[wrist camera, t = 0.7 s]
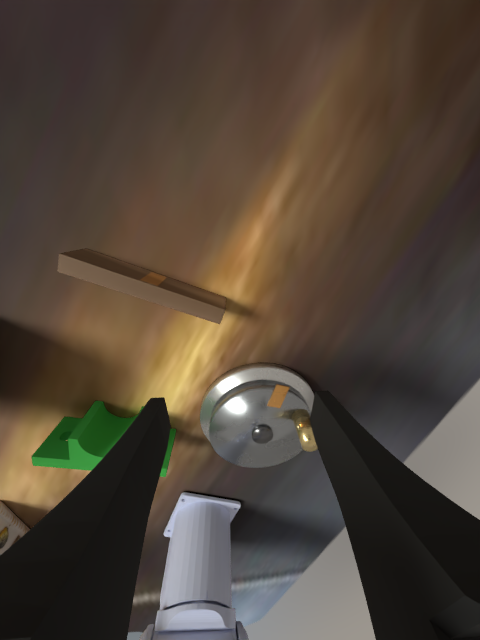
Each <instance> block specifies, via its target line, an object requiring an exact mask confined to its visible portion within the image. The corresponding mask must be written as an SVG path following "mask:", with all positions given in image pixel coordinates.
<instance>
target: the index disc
mask: <svg viewBox="0 0 480 640" xmlns="http://www.w3.org/2000/svg"><path fill="white" fill-rule="evenodd" d="M310 416H311V412H310V409H309V407H308V405H307V403H306V400H305V399H304V397H303V396H302V395H301V394H300V392H299V391H297V390H296V389H295V388H293V387H291V386H290V385H288V384H285V383H283V382H279V381H274V380H254V381H249V382H245V383H242V384H240V385H237V386H235V387H233V388H231V389H230V390H228V391H227V392H225V393H224V394H223V395H222V396H221V397H220V398H219V399H218V400H217V402H216V403H215V405H214V407H213V409H212V411H211V416H210V426H209V438H210V442H211V445H212V447H213V448H214V450H215V451H216V452H217V453H218V454H219V455H220V456H221V457H222V458H223V459H225V460H227V461H228V462H230V463H233V464H236V465H239V466H243V467H251V468H261V467H269V466H273V465H277V464H280V463H283V462H285V461H287V460H289V459H291V458H293V457H294V456H296V455H297V454H298V453H300V452H301V451H302V450H303V449H304V450H305V451H315V450H317V449H318V447H317V445H316V442H315V439H314V435H313V431H312V427H311V424H310Z"/></svg>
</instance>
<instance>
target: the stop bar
mask: <svg viewBox="0 0 480 640" xmlns="http://www.w3.org/2000/svg"><path fill="white" fill-rule="evenodd" d="M58 272H60V273H63V274H66V275H69V276H73V277H76V278H79V279H82V280H85V281H88V282H91V283H94V284H97V285H100V286H103V287H106V288H110V289H113V290H116V291H119V292H122V293H125V294H128V295H131V296H134V297H137V298H140V299H143V300H147V301H150V302H153V303H156V304H159V305H162V306H165V307H168V308H171V309H174V310H177V311H180V312H184V313H187V314H190V315H193V316H196V317H199V318H202V319H205V320H208V321H211V322H214V323H218V324H220V323H221V320H222V318H223V315H224V313H225V297H223V296H220V295H218V294H215V293H212V292H209V291H206V290H203V289H200V288H198V287H195V286H192V285H189V284H186V283H183V282H180V281H178V280H175V279H172V278H169V277H166V276H163V275H160V274H158V273H155V272H152V271H149V270H146V269H143V268H140V267H138V266H135V265H132V264H129V263H126V262H123V261H120V260H118V259H115V258H112V257H109V256H106V255H103V254H100V253H98V252H95V251H92V250H89V249H80V250H75V251H70V252H65V253H60V254H59V261H58Z"/></svg>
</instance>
